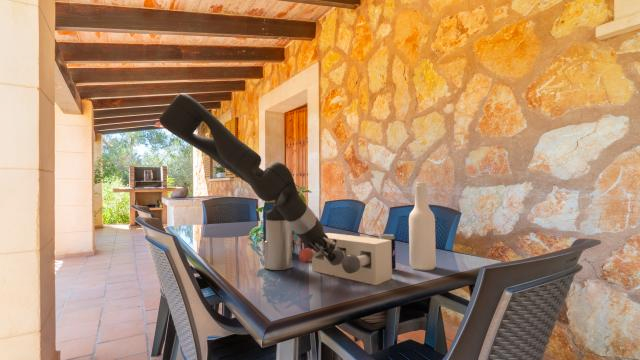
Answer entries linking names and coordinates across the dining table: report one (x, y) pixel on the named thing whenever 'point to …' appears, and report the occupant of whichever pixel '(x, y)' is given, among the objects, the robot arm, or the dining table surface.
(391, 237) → the beverage can
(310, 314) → the dining table surface
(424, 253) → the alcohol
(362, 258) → the knob
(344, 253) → the knob
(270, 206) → the dark thin upright pieces
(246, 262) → the dining table surface
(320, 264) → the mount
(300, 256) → the red knob
